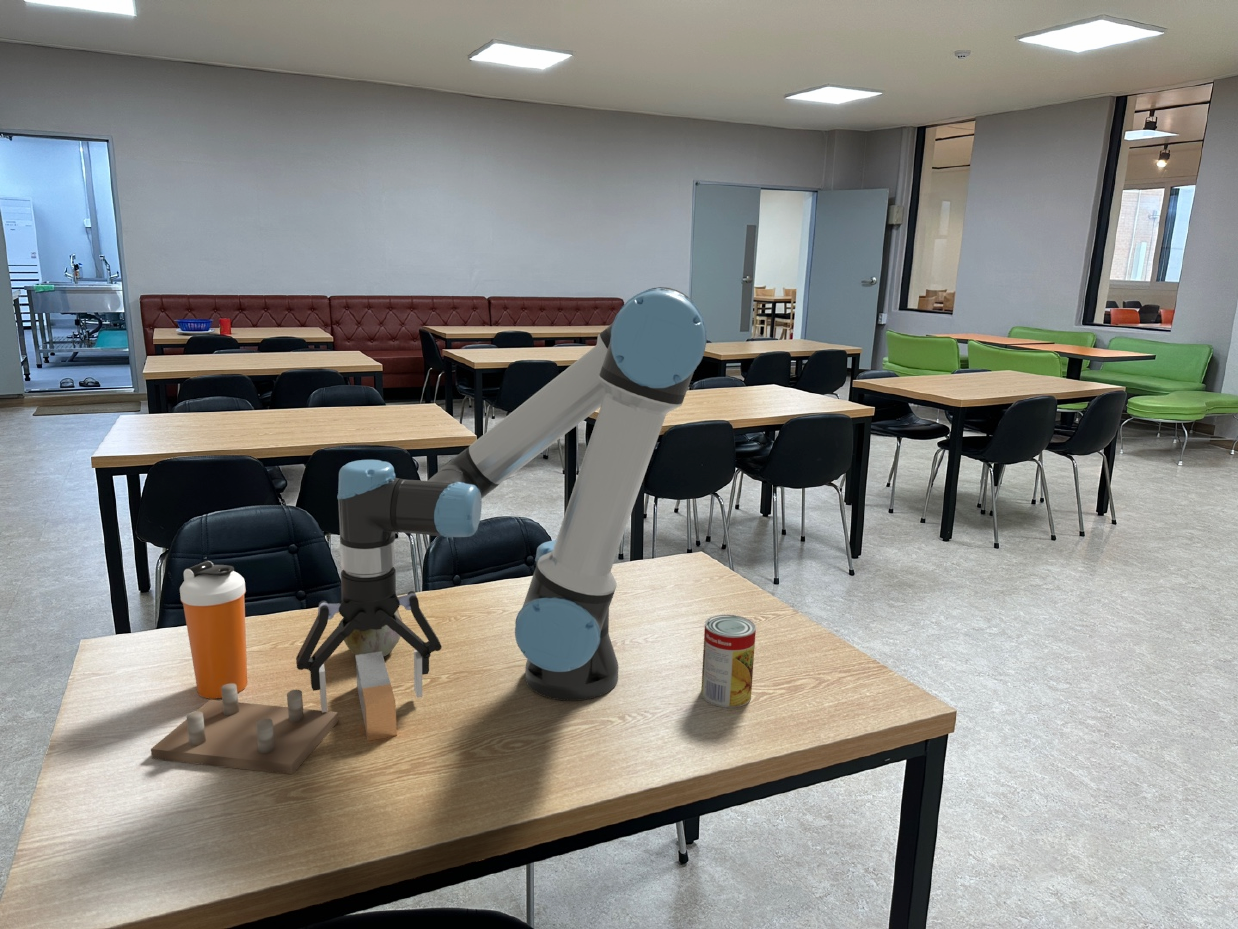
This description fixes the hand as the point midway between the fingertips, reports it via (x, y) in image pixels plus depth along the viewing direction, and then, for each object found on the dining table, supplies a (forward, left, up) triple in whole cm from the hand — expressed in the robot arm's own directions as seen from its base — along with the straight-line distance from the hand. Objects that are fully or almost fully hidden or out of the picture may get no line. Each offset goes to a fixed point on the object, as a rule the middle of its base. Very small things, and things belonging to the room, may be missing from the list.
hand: (371, 701), depth 124 cm
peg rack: (+13, +11, -1) cm, 17 cm away
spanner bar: (-1, 0, -2) cm, 2 cm away
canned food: (-53, -14, -2) cm, 55 cm away
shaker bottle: (+25, -2, -2) cm, 26 cm away
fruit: (+7, -17, -2) cm, 19 cm away
